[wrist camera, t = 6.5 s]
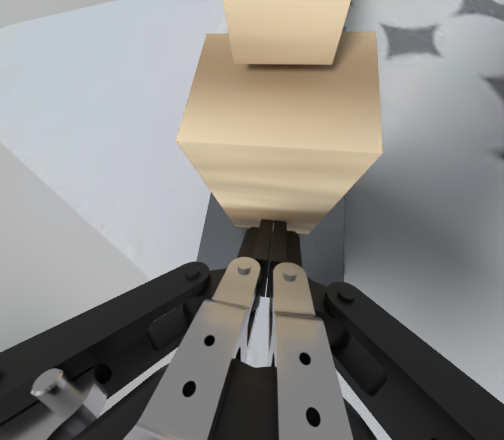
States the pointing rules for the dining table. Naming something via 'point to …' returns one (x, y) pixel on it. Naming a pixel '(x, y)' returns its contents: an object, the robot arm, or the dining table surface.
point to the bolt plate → (231, 237)
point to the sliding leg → (283, 111)
